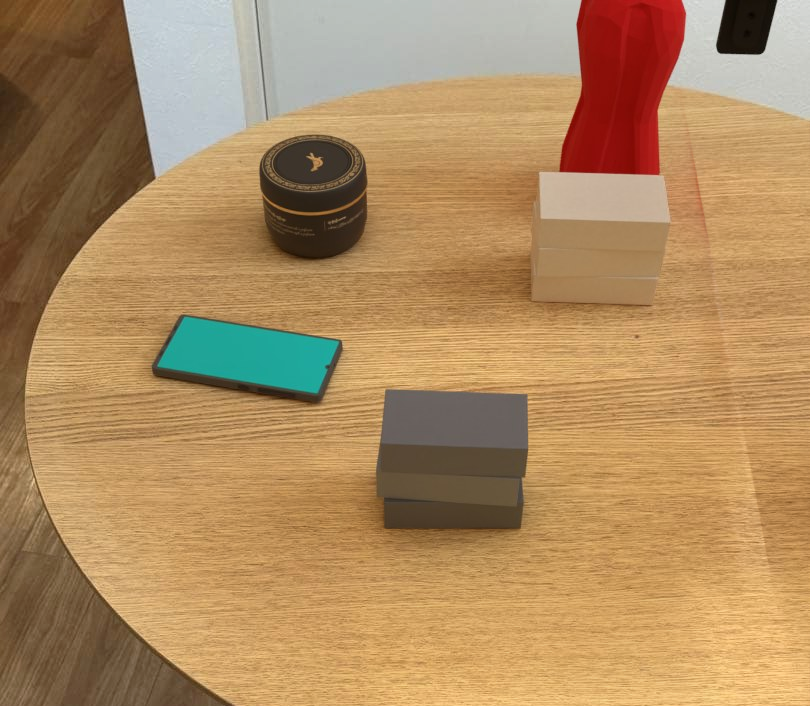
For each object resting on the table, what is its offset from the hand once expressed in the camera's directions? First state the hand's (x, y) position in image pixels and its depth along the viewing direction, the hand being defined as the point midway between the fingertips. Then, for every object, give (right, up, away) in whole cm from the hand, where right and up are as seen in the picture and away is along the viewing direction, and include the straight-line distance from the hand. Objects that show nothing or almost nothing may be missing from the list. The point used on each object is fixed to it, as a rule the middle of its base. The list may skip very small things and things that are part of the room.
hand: (730, 16), depth 80 cm
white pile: (-6, -12, +26) cm, 30 cm away
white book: (-6, -9, +22) cm, 24 cm away
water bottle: (-3, -2, +35) cm, 36 cm away
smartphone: (-36, -21, +19) cm, 46 cm away
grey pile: (-19, -33, +9) cm, 40 cm away
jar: (-31, -7, +31) cm, 45 cm away
